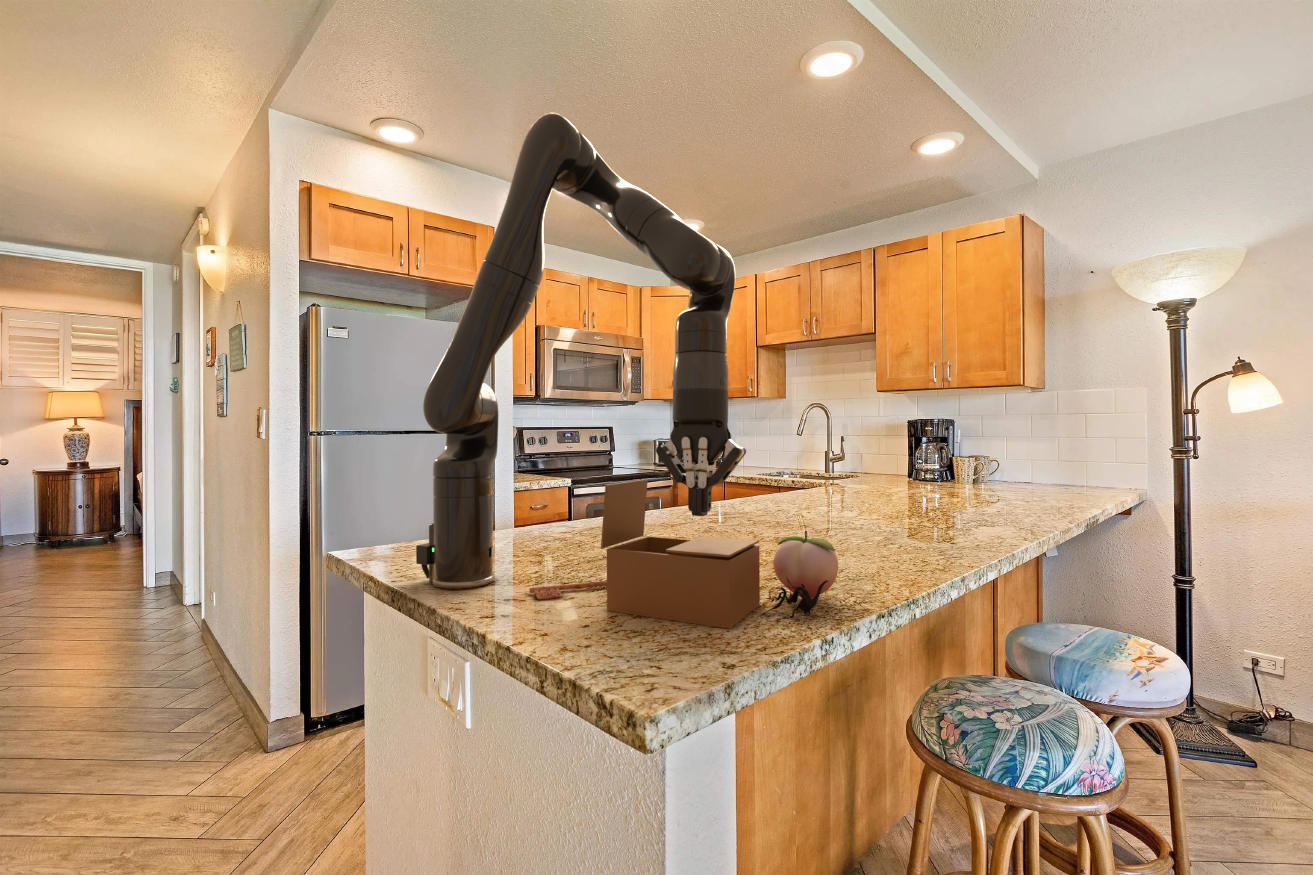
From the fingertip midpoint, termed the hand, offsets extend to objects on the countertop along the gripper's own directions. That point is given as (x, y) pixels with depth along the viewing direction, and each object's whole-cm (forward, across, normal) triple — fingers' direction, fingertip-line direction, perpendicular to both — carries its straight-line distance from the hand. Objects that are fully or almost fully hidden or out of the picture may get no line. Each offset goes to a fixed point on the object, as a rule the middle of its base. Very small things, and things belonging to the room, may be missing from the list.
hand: (699, 515), depth 84 cm
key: (+13, +20, -1) cm, 24 cm away
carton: (+13, +2, 0) cm, 13 cm away
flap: (+4, -2, 0) cm, 5 cm away
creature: (+13, -12, -4) cm, 18 cm away
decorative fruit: (+13, -12, -12) cm, 21 cm away
